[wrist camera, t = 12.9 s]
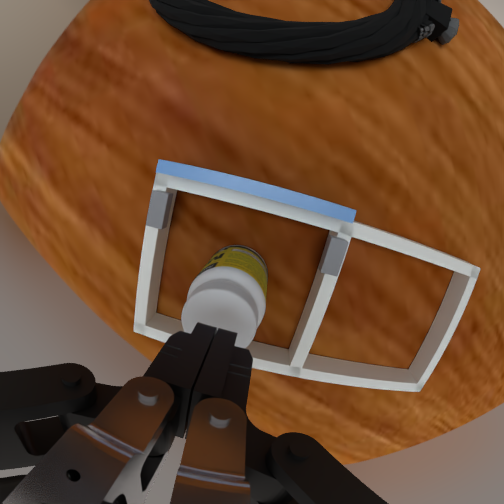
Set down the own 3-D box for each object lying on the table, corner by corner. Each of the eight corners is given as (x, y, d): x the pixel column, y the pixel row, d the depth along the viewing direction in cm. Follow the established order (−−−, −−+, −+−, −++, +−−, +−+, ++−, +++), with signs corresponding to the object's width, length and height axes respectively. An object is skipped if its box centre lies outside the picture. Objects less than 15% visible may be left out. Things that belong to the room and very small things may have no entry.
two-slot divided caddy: (468, 252, 20) (500, 267, 16) (410, 377, 24) (428, 407, 19) (171, 161, 20) (144, 156, 16) (145, 318, 24) (120, 346, 19)
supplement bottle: (224, 232, 22) (196, 263, 13) (278, 261, 22) (282, 308, 14) (198, 284, 23) (162, 336, 15) (249, 311, 23) (238, 374, 15)
